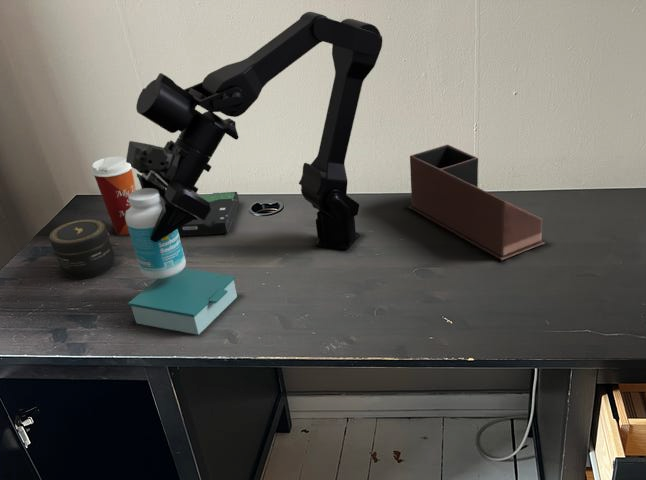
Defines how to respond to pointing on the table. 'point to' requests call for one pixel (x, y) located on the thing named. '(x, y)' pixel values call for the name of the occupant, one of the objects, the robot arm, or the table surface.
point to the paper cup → (115, 188)
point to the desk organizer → (469, 204)
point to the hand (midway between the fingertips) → (144, 232)
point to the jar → (82, 248)
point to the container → (184, 301)
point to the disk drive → (214, 215)
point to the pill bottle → (141, 221)
